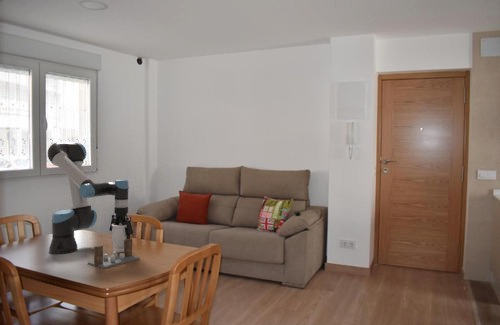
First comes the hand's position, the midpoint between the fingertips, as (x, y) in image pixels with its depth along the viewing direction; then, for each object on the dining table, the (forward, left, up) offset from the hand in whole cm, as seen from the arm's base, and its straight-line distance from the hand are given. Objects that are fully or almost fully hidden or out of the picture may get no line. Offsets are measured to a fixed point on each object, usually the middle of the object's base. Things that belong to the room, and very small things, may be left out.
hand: (120, 244), depth 239 cm
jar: (0, 0, -3) cm, 3 cm away
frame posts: (+12, -14, -5) cm, 19 cm away
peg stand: (+12, -14, -5) cm, 19 cm away
